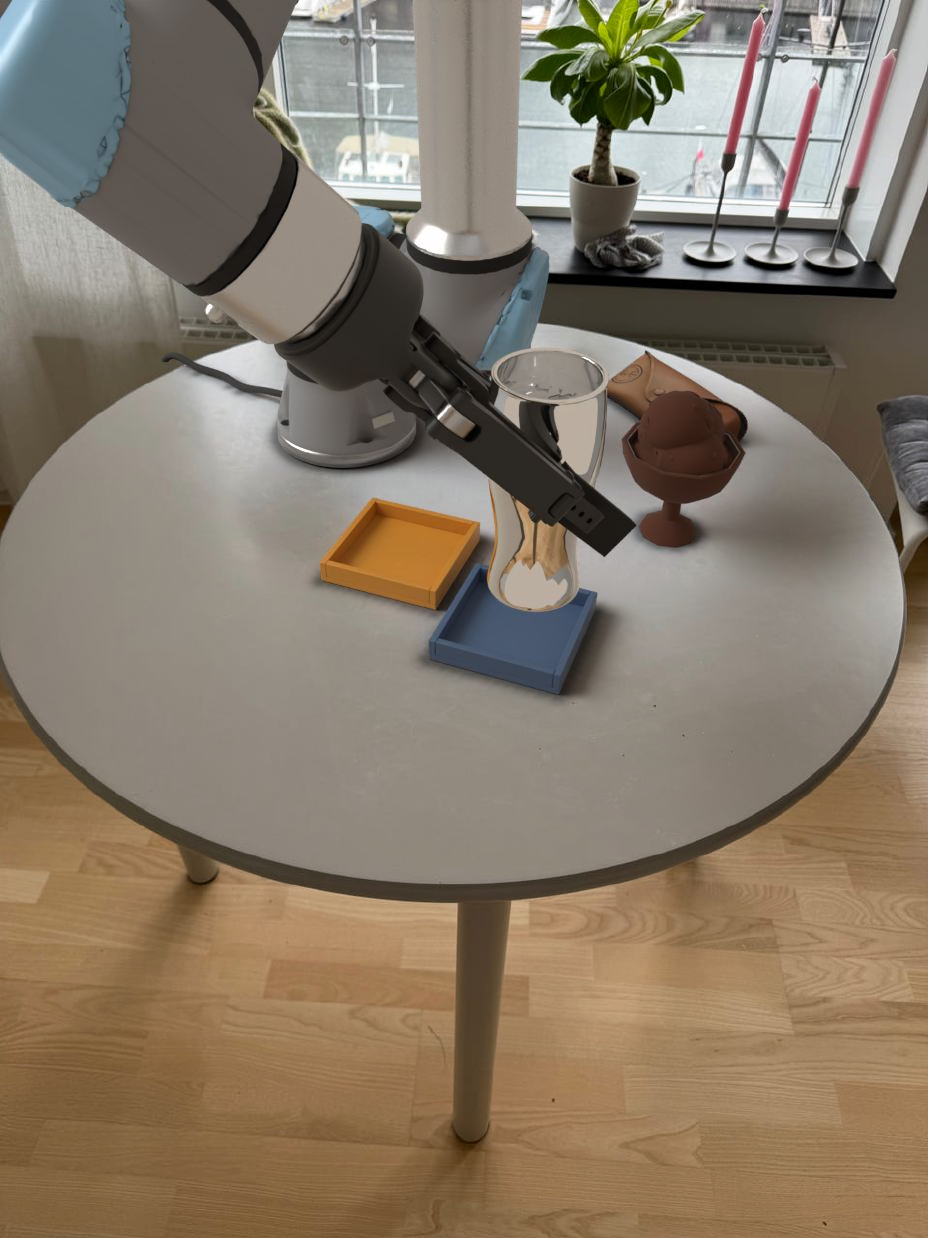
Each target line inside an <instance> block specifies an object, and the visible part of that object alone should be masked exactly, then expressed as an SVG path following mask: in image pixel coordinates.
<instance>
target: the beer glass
mask: <svg viewBox="0 0 928 1238" xmlns="http://www.w3.org/2000/svg"><path fill="white" fill-rule="evenodd" d="M609 375H610V374H609V373H608V370H607V369H606V367H605V366H604V365H603V364H602V363H601V362H599V361H598V360H597V359H596V358H593V357H591V356H589V355H586V354H584V353H581V352H578V351H575V350H570V349H567V348H560V347H559V348H558V347H531V348H530V349H523V350H519V351H515V352H512V353H510V354H507V355H505V356H503V357H502V358H500V359H499V360H498V361H497V362H496V363H495V364H494V365H493V367H492V370H491V372H490V380H491V385H490V392H489V394H490V399H489V401H490V402H491V403H492V404H493V405H494V406H495V407H496V408H497V409H498V410H500V411H501V412H502V413H503V414H504V415H505V416H506V417H507V418H508V419H509V420H511V421H512V422H513V423H514V424H515V425H516V426H517V427H518V428H519V429H521V430H522V431H523V432H524V433H525V434H526V435H527V436H528V437H529V438H531V439H532V440H533V441H534V442H535V443H536V444H537V445H538V446H539V447H540V448H542V449H543V450H544V451H545V452H546V453H547V454H548V455H549V456H550V457H552V458H553V459H554V460H555V461H556V462H557V463H558V464H559V465H560V466H562V467H563V468H564V469H565V470H566V469H567V468H568V467H569V468H570V469H571V470H573V471H574V472H575V473H576V474H578V475H579V476H580V477H581V478H582V479H584V480H585V481H586V482H587V483H588V484H590V485H591V486H592V487H593V488H595V489H596V485H597V482H598V478H599V475H600V471H601V467H602V461H603V457H604V452H605V451H604V450H605V445H606V432H607V417H608V396H607V392H608V382H609V380H610V376H609ZM486 478H487V486H488V492H489V497H490V503H491V504H490V505H491V511H492V516H493V524H494V545H493V550H492V554H491V558H490V562H489V565H488V566H489V569H488V574H487V583H488V587H489V589H490V591H491V593H492V594H493V595H494V596H495V597H496V598H497V599H498V600H499V601H500V602H502V603H504V604H505V605H507V606H510V607H512V608H515V609H518V610H522V611H529V612H544V611H550V610H554V609H557V608H560V607H562V606H564V605H566V604H568V603H569V602H570V601H571V600H573V598H574V597H575V596H576V594H577V592H578V590H579V588H580V585H581V575H580V566H579V553H578V550H579V542H580V539H579V538H578V537H577V536H575V535H574V534H573V533H571V532H570V531H569V530H567V529H566V528H565V527H563V526H562V525H561V524H559V523H558V522H557V523H556V524H555V525H554V526H553V527H551V526H549V525H548V524H545V523H543V522H542V521H541V520H540V521H539V522H538V523H537V524H535V523H534V522H532V521H531V519H530V517H529V515H528V513H527V512H528V511H529V509H528V508H527V507H526V506H524V505H523V504H522V503H520V502H519V501H518V500H517V499H515V498H514V497H513V496H512V495H510V494H509V493H508V492H506V491H505V490H504V489H503V488H501V487H500V486H499V485H498V484H496V483H495V482H494V481H492V480H491V479H490V478H489V477H487V476H486Z"/></svg>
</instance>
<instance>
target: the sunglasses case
mask: <svg viewBox="0 0 928 1238" xmlns="http://www.w3.org/2000/svg"><path fill="white" fill-rule="evenodd" d="M671 391H692V392H695V393H697V394H698V395H699V396H700V398H702V399H705V400H707V401H708V402H709V403H710V404H711V405H712V406H715V407H716V409H717V410H718V411H719V412H720V413H721V414H722V418H723V424H724V426H725V430H727V431H729V432H731V433H733V434H734V436H735V437H736V439H737V440H738V442H739V443H740V442H741V441H742V440H743V438H744V437H745V436H746V434H747V431H748V426H749V421H748V419H747V417H746V415H745V414H744V412H743V411H742V410H740V409H739V408H738V407H736V406H734V405H733V404H730V403H729V402H727V401H725V400H723V399H722V398H720V397H719V396H717V395H715V394H714V393H713V392H712V391H710V390H708V389H707V388H705V387H704V386H702V385H701V384H699V383H698V382H697V381H695V380H693V379H691V378H690V377H688V376H687V375H686V374H683V373H682V372H680V371H678V370H677V369H676V368H673V367H672V366H670V365H668V364H666V362H663V361H662V360H660V359H658V358H657V357H655V356H654V355H653V354H652V353H651V352H650V351H648V350H646V349H645V350H644V353H643V354H642V355H641V356H639V357H637V358H635V360H634V361H632V362H631V363H630V364H628V366H626V367H624V368H623V369H622V370H621V371H619V372H618V373H616V374H615V375H614V376H613V377H611V378H609V382H608V392H607V398H609V399H611V400H613V401H614V402H615V403H617V404H618V405H620V407H622V408H624V409H625V410H627V411H628V412H630V413H631V414H632V415H633V416H635V417H636V418H637V419H639V420H641V418H642V416H643V414H644V412H645V411H646V410H647V409H648V407H649V404H650V402H651V401H653V400H654V399H655V398H656V397H658V396H660V395H663V394H665V393H668V392H671Z"/></svg>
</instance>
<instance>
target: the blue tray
mask: <svg viewBox="0 0 928 1238" xmlns="http://www.w3.org/2000/svg"><path fill="white" fill-rule="evenodd" d="M488 569H489V565H487V564H484V563H478V562H476V563H475V564H474V566H473V567H472V569H471V570H470V573H469V574H468V576H467V578H466V579H465V581H464V582H463V584H462V586H461V587H460V589H459V590H458V592H457V593H456V595H455V597H454V599H453V600H452V602H451V603H450V605H449V607H448V608H447V610H446V612H445V614H444V615H443V616H442V618H441V620H440V622H439V623H438V624H437V626H436V628H435V630H434V631H433V633H432V634H431V636H430V638H429V640H428V659H429V660H432V661H434V662H439V663H442V664H445V665H446V664H447V665H449V666H453V667H456V668H459V669H464V670H466V671H467V670H468V671H471V672H475V673H478V674H482V675H485V676H489V677H492V678H497V679H500V680H504V681H508V682H510V683H514V684H518V685H521V686H526V687H530V688H533V689H536V690H539V691H540V690H541V691H544V692H547V693H552V694H554V695H559V694H560V693H561V690H562V689H563V686H564V684H565V681H566V679H567V676H568V674H569V672H570V670H571V668H572V665H573V663H574V661H575V658H576V655H577V653H578V651H579V649H580V647H581V644H582V642H583V640H584V637H585V635H586V633H587V631H588V628H589V626H590V623H591V621H592V619H593V616H594V614H595V611H596V608H597V607H596V606H597V600H598V599H597V598H598V592H597V591H594V590H590V589H587V588H581V587H579V590H578V592H577V594H576V596H575V597H574V598H573V600H571V601H570V602H569V603H568V604H566V605H564V606H562V607H560V608H557V609H554V610H550V611H544V612H529V611H522V610H518V609H515V608H512V607H510V606H507V605H505V604H504V603H502V602H500V601H499V600H498V599H497V598H496V597H495V596H494V595H493V594H492V593H491V591H490V589H489V587H488V583H487V574H488Z"/></svg>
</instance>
